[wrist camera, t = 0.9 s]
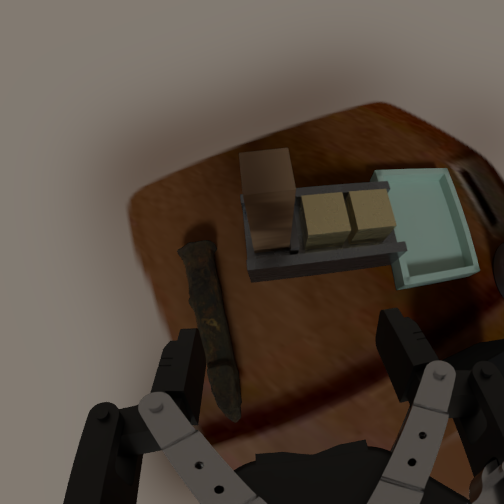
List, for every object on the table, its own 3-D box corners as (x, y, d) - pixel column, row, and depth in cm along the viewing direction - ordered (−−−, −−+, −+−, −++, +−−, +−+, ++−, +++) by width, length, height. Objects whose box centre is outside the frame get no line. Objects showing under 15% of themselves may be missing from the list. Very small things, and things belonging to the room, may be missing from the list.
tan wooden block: (291, 211, 33) (297, 139, 22) (297, 254, 31) (309, 197, 20) (250, 215, 33) (238, 146, 22) (255, 259, 32) (243, 204, 20)
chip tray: (439, 177, 36) (446, 168, 34) (469, 276, 32) (479, 270, 30) (369, 180, 37) (374, 170, 34) (396, 290, 32) (404, 285, 30)
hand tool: (184, 255, 36) (172, 241, 31) (217, 248, 36) (209, 232, 31) (213, 421, 30) (203, 431, 25) (250, 415, 30) (246, 425, 25)
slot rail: (375, 201, 36) (387, 180, 31) (391, 264, 33) (407, 250, 29) (244, 215, 36) (240, 194, 32) (251, 282, 34) (247, 270, 29)
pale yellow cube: (335, 210, 33) (342, 191, 29) (342, 245, 31) (351, 230, 28) (298, 214, 33) (301, 195, 29) (304, 249, 31) (308, 235, 28)
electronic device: (414, 371, 29) (461, 373, 20) (479, 342, 29) (531, 332, 20) (420, 404, 28) (467, 417, 18) (484, 373, 28) (537, 371, 18)
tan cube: (375, 206, 32) (386, 188, 29) (384, 240, 31) (396, 225, 27) (341, 209, 33) (348, 191, 29) (349, 244, 31) (358, 229, 28)
